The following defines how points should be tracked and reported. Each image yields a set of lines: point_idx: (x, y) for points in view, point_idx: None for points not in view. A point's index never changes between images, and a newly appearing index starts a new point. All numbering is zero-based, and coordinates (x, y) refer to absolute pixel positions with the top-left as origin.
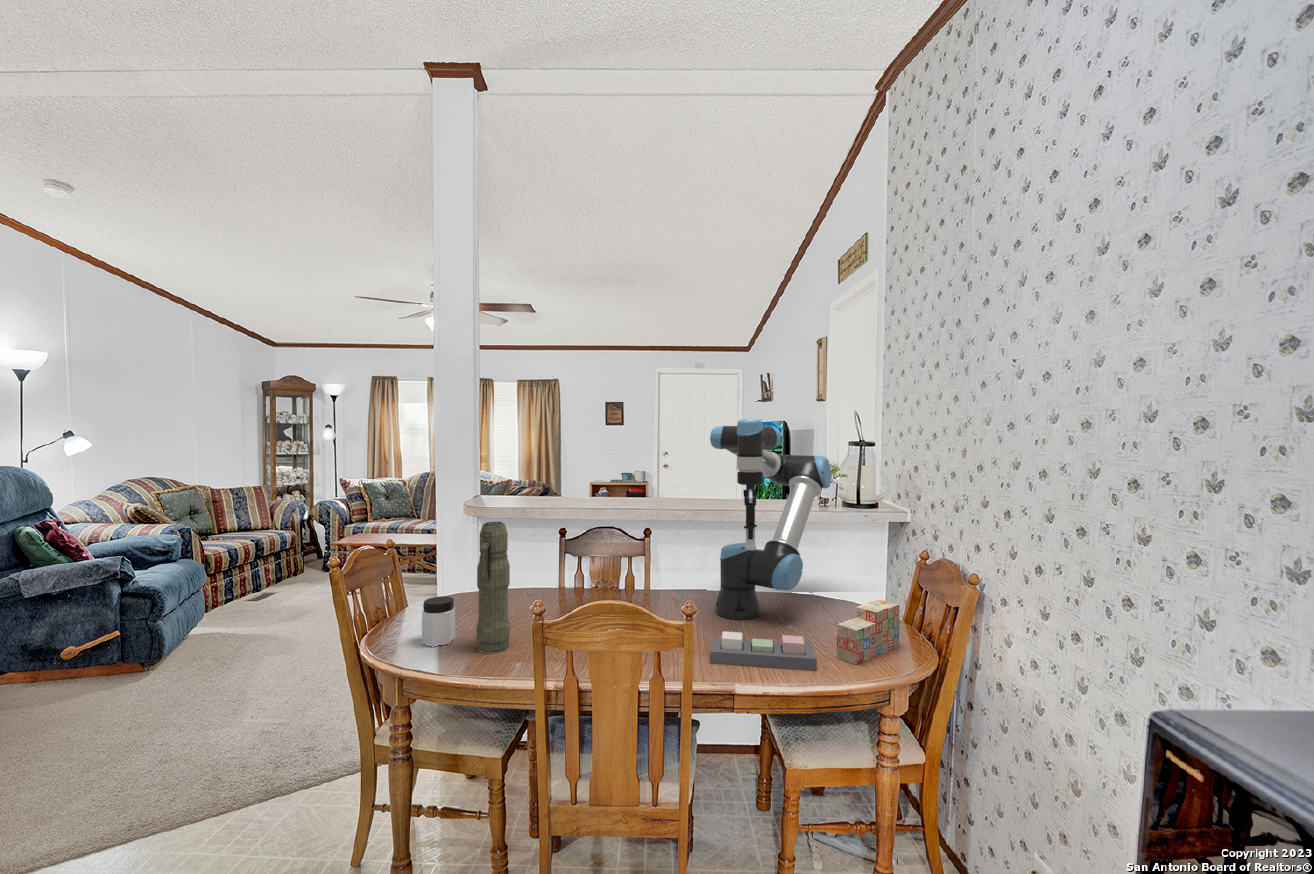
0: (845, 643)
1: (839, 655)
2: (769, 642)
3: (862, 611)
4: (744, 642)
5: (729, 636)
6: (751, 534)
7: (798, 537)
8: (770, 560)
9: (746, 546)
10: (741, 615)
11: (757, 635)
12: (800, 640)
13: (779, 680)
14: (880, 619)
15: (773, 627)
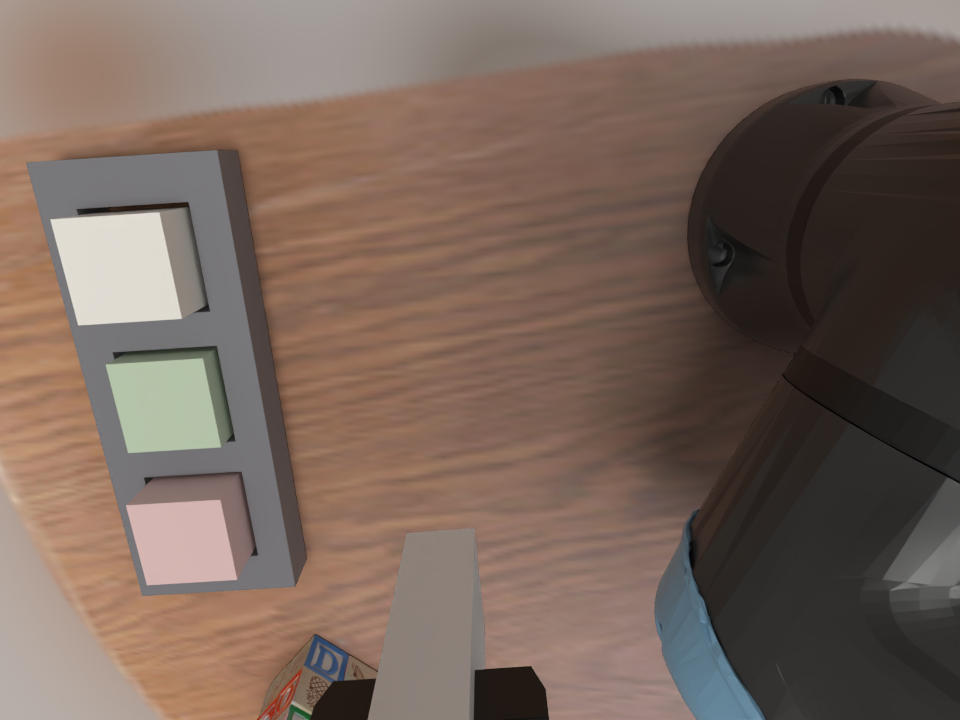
0: (274, 709)
1: (305, 649)
2: (180, 437)
3: None
4: (213, 315)
5: (96, 257)
6: None
7: None
8: (795, 616)
9: (404, 568)
10: (696, 257)
11: (475, 346)
12: (181, 571)
13: (19, 448)
14: None
15: (603, 413)
